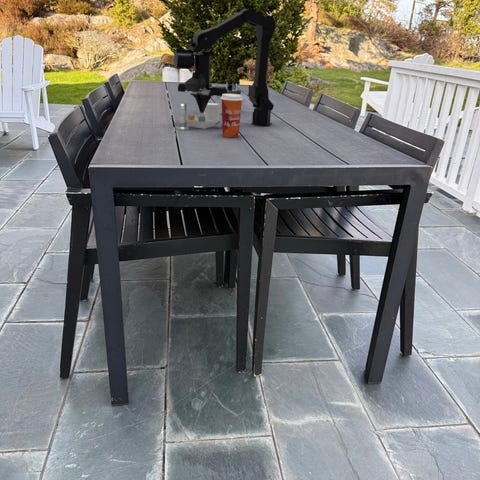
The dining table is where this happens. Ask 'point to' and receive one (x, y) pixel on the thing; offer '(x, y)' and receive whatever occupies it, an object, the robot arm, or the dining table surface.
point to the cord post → (182, 117)
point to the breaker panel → (199, 122)
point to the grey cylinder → (212, 112)
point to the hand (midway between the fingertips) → (201, 112)
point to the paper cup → (231, 114)
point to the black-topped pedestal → (229, 91)
